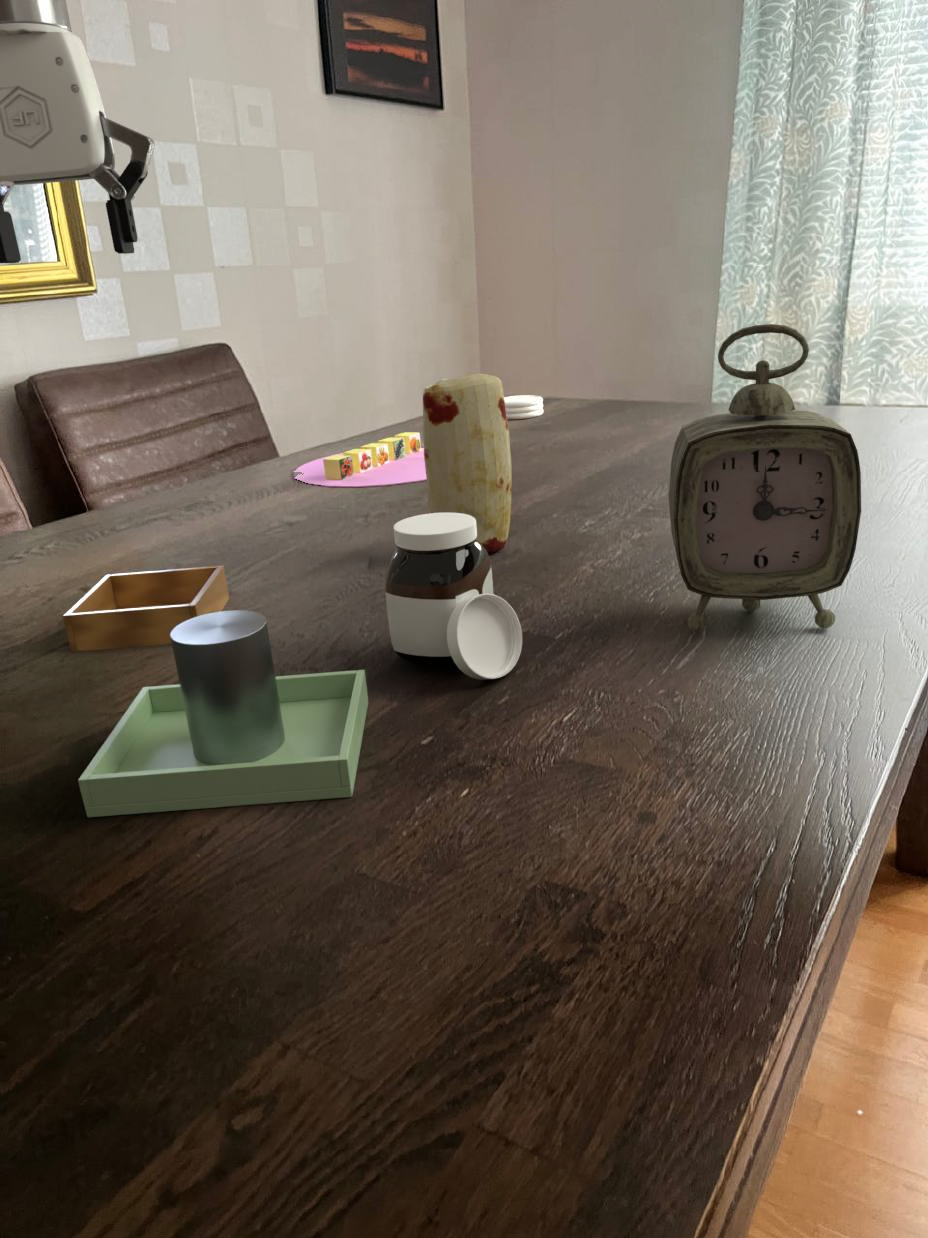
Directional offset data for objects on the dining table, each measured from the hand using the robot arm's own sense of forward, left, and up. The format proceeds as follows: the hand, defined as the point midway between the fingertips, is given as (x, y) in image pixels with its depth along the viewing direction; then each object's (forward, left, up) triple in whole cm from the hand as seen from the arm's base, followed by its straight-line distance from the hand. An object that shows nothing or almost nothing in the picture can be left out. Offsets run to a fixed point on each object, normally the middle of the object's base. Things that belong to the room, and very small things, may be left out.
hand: (67, 257), depth 80 cm
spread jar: (+30, -11, -34) cm, 47 cm away
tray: (+14, -25, -34) cm, 45 cm away
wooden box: (0, +3, -34) cm, 34 cm away
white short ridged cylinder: (+44, +115, -34) cm, 128 cm away
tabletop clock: (+56, -7, -34) cm, 66 cm away
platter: (+19, +75, -34) cm, 85 cm away
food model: (+32, +20, -34) cm, 51 cm away
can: (+14, -25, -34) cm, 44 cm away
